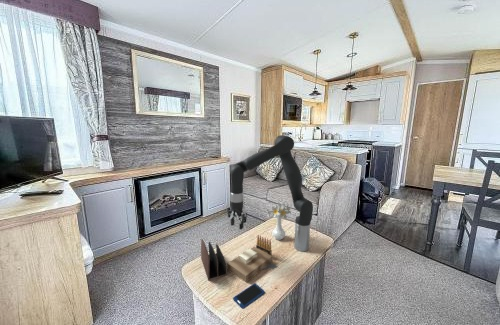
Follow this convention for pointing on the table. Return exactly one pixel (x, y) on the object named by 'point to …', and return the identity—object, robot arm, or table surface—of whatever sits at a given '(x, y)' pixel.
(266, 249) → the ammunition clip
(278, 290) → the table surface
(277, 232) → the flower vase
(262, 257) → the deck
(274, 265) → the mat
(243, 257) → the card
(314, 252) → the table surface
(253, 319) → the table surface
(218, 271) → the letter holder
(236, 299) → the cell phone
